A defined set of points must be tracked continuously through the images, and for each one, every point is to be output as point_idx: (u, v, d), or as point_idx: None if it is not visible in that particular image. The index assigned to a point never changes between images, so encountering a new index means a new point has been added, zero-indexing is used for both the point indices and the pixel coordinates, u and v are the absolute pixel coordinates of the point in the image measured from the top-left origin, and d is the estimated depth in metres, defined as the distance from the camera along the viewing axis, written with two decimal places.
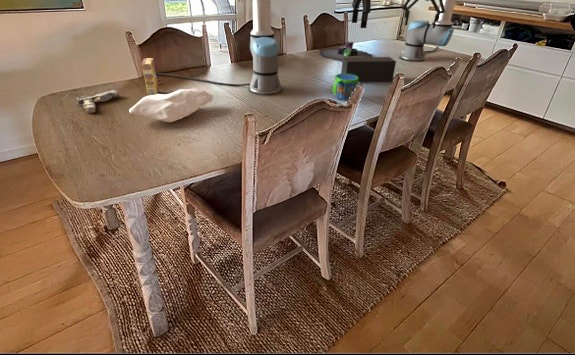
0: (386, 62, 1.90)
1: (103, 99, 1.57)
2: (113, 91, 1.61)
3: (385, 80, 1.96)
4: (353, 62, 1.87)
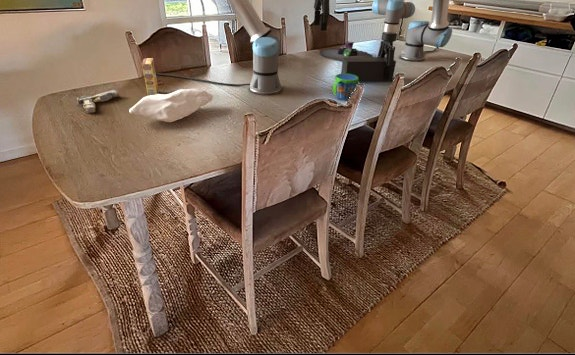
0: None
1: (103, 99, 1.57)
2: (113, 91, 1.61)
3: (385, 80, 1.96)
4: (353, 62, 1.87)
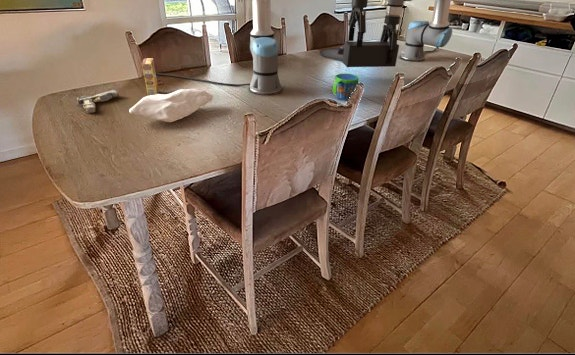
0: None
1: (103, 99, 1.57)
2: (113, 91, 1.61)
3: (388, 64, 1.91)
4: (355, 46, 1.83)
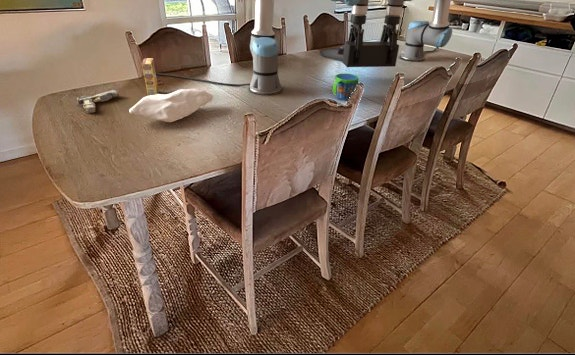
0: None
1: (103, 99, 1.57)
2: (113, 91, 1.61)
3: (388, 64, 1.91)
4: None
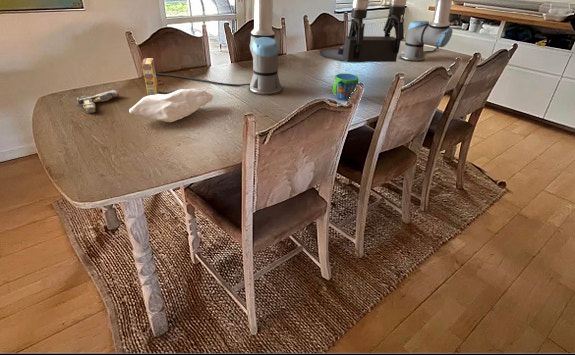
0: (390, 41, 1.85)
1: (103, 99, 1.57)
2: (113, 91, 1.61)
3: (388, 60, 1.90)
4: None
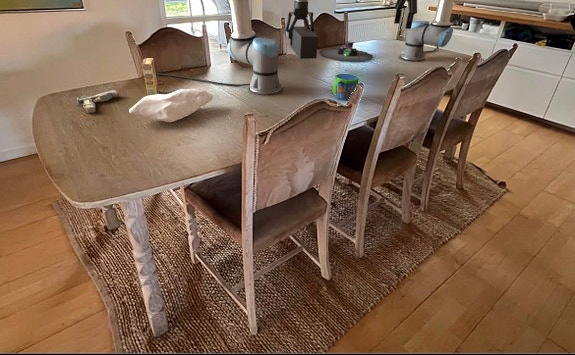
0: (298, 35, 1.86)
1: (103, 99, 1.57)
2: (113, 91, 1.61)
3: (298, 54, 1.90)
4: None
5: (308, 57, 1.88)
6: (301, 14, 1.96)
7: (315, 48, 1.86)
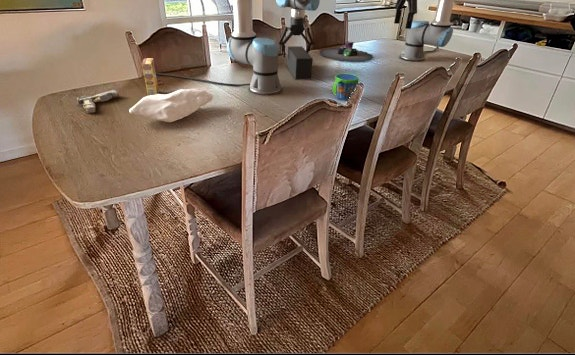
0: (294, 57, 1.93)
1: (103, 99, 1.57)
2: (113, 91, 1.61)
3: (294, 75, 1.97)
4: (288, 48, 2.08)
5: (303, 78, 1.94)
6: (297, 30, 2.01)
7: (310, 69, 1.93)
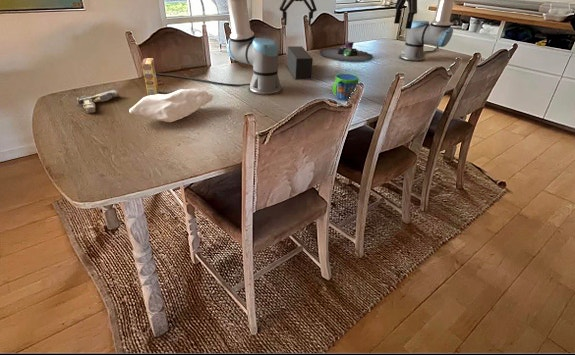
0: (294, 57, 1.93)
1: (103, 99, 1.57)
2: (113, 91, 1.61)
3: (294, 75, 1.97)
4: (288, 48, 2.08)
5: (303, 78, 1.94)
6: None
7: (310, 69, 1.93)
